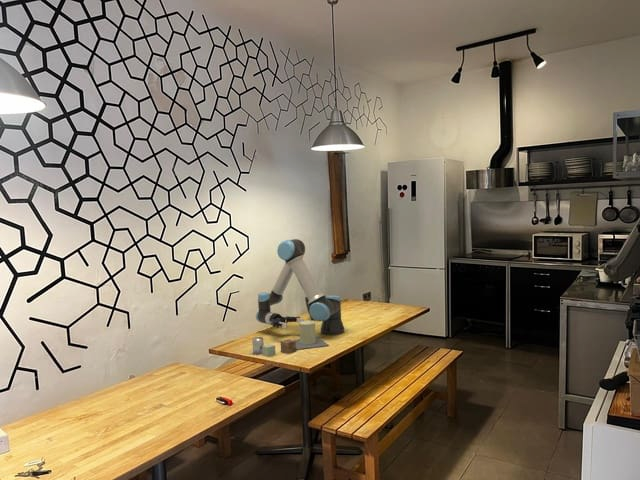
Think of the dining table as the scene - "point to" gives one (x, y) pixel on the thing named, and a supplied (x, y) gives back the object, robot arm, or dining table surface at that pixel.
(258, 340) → the grey tin
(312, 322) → the can
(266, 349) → the sage block
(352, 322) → the dining table surface
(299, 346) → the charcoal mat
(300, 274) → the robot arm
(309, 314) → the plant pot
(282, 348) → the walnut block
